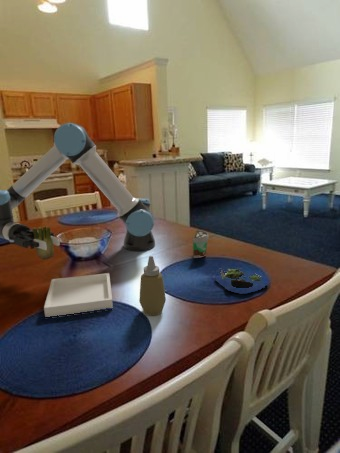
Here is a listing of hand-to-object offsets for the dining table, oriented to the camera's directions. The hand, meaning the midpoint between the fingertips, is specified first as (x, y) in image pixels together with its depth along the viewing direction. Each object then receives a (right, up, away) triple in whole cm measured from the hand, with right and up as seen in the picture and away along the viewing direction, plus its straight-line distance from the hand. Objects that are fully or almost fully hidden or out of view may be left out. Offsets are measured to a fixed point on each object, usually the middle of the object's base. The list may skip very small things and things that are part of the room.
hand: (52, 243), depth 113 cm
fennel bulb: (-4, -6, +5) cm, 9 cm away
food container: (+55, -7, +30) cm, 63 cm away
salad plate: (+67, -15, +4) cm, 68 cm away
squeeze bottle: (+36, -20, -13) cm, 43 cm away
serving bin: (+11, -18, -5) cm, 22 cm away
